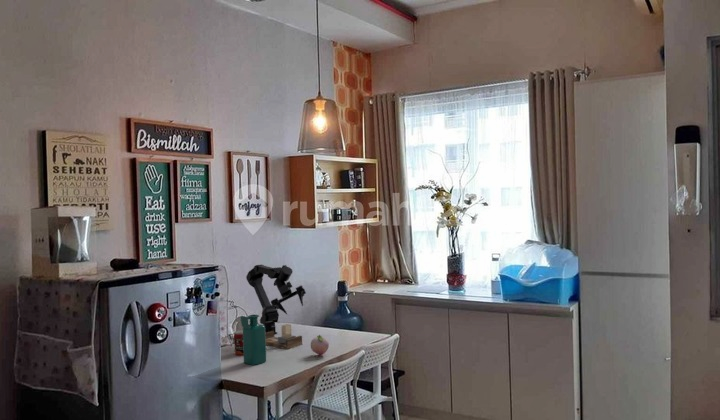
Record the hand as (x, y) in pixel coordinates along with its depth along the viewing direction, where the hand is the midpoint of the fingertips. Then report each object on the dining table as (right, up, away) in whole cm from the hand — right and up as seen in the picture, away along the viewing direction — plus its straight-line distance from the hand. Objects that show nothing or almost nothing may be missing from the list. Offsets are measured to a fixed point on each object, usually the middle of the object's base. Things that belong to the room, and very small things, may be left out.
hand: (294, 309), depth 309 cm
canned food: (-23, -18, -19) cm, 35 cm away
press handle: (-3, -15, -5) cm, 16 cm away
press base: (-7, -17, -2) cm, 19 cm away
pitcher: (-15, -18, -36) cm, 43 cm away
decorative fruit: (+15, -17, -27) cm, 35 cm away
